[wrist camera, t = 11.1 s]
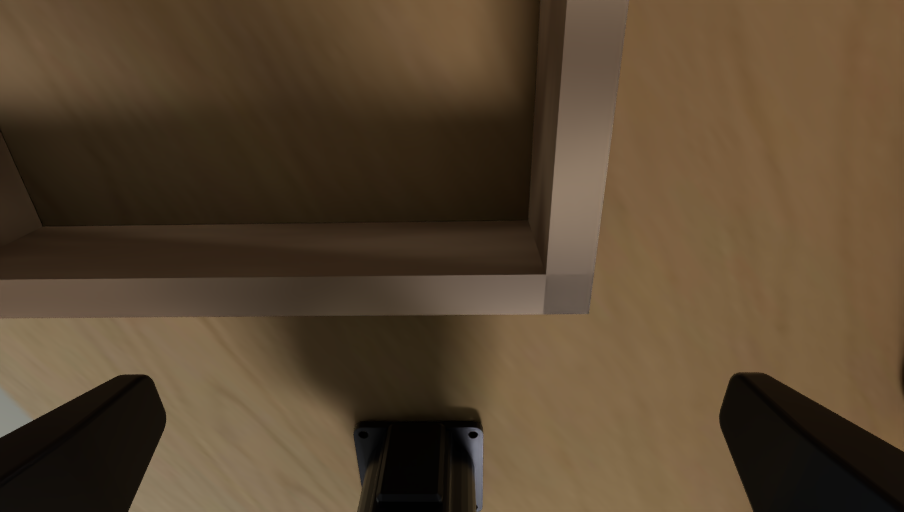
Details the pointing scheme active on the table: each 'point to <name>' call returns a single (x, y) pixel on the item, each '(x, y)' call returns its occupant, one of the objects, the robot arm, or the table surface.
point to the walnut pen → (356, 228)
